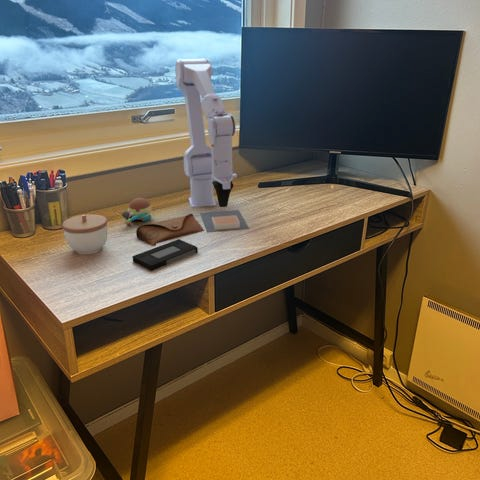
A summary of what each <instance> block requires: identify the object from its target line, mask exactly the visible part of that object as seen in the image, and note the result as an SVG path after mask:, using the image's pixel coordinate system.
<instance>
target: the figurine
mask: <svg viewBox="0 0 480 480" xmlns="http://www.w3.org/2000/svg"><path fill="white" fill-rule="evenodd" d="M121 213H122V215H121V216H122V218H124V222H125V224H126V226H127V227H132V225H131V222H133V221H135V220H137V221H142V222H148V221H150V220H151V219H152V215H151V214H152V205H151V203H150V201H149V200H148V199H146V198H144V197H136V198H134V199H132V200H131V201H130V203H129V204H128V209H127V210H124V211H122V212H121Z"/></svg>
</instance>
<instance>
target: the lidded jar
mask: <svg viewBox="0 0 480 480" xmlns="http://www.w3.org/2000/svg"><path fill="white" fill-rule="evenodd" d="M107 219H108V218H107V217H105V216H103V215H101V214H91V213H90V214H79V215H76V216H72V217H69V218H68V219H66V220H64V221H62V223H61V225H62V226H61V227H62V229H63V235H64V237H65V240H66V243H67V244H68V247H70V248H71V249H72V250H73V251H75V252H76V253H77V254H79V255H85V256H87V255H92V254H96V253H98V252H100V251H101V250H102V248H103V247H104V246H105V244H106V242H107V239H108V231H109V230H108V220H107Z"/></svg>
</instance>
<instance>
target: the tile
mask: <svg viewBox="0 0 480 480" xmlns="http://www.w3.org/2000/svg"><path fill="white" fill-rule="evenodd" d="M212 223H213V226H214V228H215V230H221V229H233V228H240V222H239V220H238V218H237V217H236V215H234V216H222V217H212Z"/></svg>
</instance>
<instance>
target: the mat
mask: <svg viewBox="0 0 480 480" xmlns="http://www.w3.org/2000/svg"><path fill="white" fill-rule="evenodd" d="M199 215H200V216H201V220H202V222H203V225H204V230H205V231H206V233H216V232H227V231H228V232H229V231H239V230H241V231H242V230H250V227H249V226H248V224H247V222H246V220H245V219H244V217H243V215H242V213H241V212H240V210H239V209H234V210H232V209H231V210H223V211H222V210H221V211H209V212H199ZM234 215H236V217H237V218H238V220H239V222H240V228H233V229H221V230H215V228H214V226H213V223H212V217H222V216H234Z"/></svg>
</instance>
